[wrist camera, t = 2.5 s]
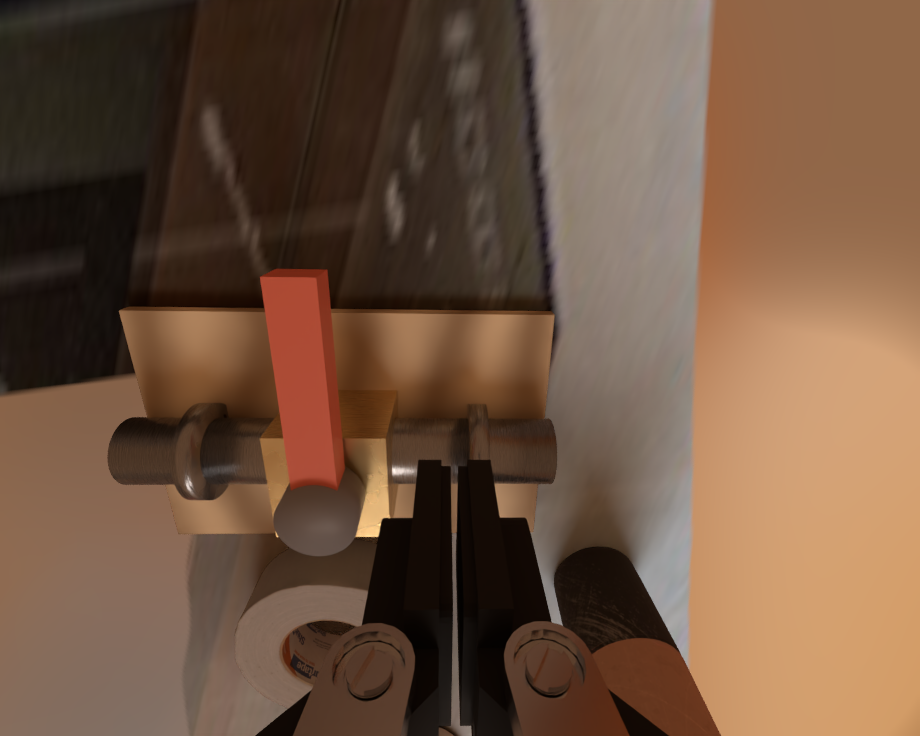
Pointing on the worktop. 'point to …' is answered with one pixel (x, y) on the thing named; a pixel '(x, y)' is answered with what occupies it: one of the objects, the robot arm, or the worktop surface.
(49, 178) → the worktop surface
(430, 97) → the worktop surface
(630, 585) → the travel mug
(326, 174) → the worktop surface
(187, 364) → the mount board
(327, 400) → the lever
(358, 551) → the tape roll
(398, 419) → the valve
